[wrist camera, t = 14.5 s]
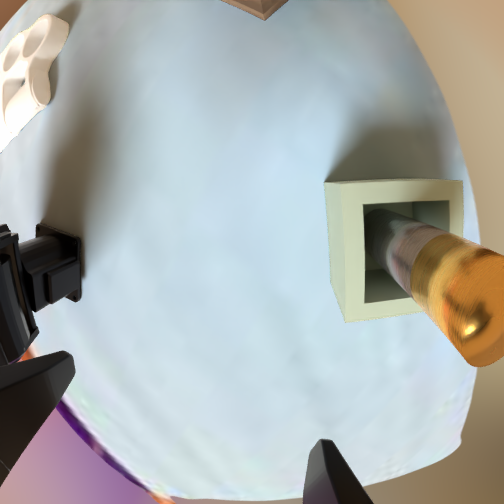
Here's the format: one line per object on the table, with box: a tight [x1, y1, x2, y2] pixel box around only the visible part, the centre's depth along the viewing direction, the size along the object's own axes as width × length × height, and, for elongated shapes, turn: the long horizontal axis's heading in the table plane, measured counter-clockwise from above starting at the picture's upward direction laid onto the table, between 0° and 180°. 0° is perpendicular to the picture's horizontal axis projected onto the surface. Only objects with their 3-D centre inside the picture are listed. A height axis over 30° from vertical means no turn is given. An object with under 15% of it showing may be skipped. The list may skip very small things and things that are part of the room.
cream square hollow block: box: [324, 178, 464, 323], centre depth 15 cm, size 7×7×6 cm
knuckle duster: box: [0, 14, 69, 153], centre depth 17 cm, size 3×18×15 cm
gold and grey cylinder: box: [363, 208, 504, 367], centre depth 11 cm, size 3×3×12 cm
